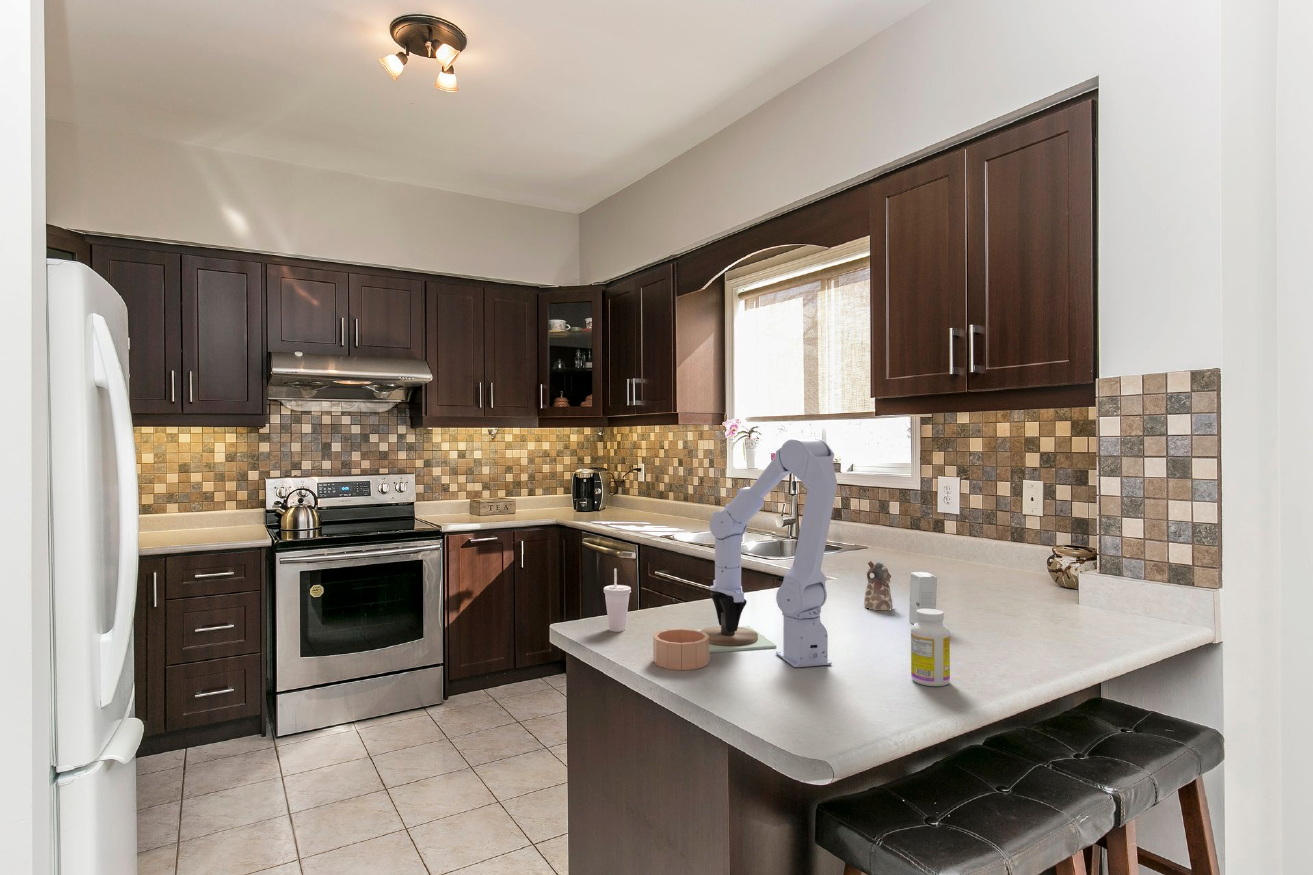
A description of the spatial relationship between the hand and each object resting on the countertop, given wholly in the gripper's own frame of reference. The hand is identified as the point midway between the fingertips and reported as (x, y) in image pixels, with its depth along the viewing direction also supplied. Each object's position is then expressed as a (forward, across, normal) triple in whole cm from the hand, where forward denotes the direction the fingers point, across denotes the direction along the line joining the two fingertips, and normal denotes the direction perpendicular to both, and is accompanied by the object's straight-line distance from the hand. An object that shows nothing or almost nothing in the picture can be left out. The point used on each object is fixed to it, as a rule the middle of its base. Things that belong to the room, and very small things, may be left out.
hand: (727, 627), depth 160 cm
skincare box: (+3, -1, +49) cm, 49 cm away
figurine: (+3, -19, +48) cm, 52 cm away
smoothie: (+3, -14, -22) cm, 26 cm away
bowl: (+3, +12, -14) cm, 19 cm away
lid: (+2, 0, 0) cm, 2 cm away
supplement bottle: (+3, +34, +27) cm, 44 cm away
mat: (+3, 0, 0) cm, 3 cm away
